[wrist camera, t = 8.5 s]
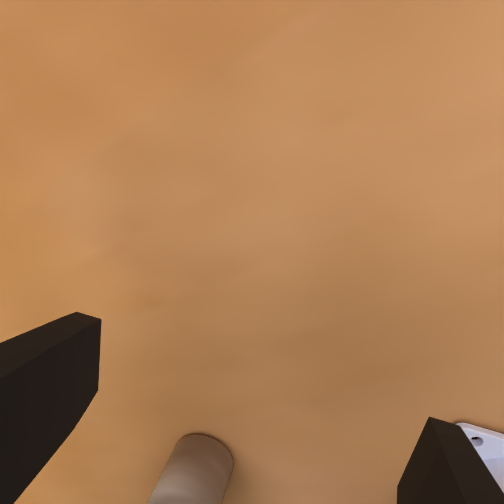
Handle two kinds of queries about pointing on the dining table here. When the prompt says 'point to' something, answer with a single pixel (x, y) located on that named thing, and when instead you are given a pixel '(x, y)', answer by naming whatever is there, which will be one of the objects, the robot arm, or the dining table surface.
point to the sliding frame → (194, 473)
